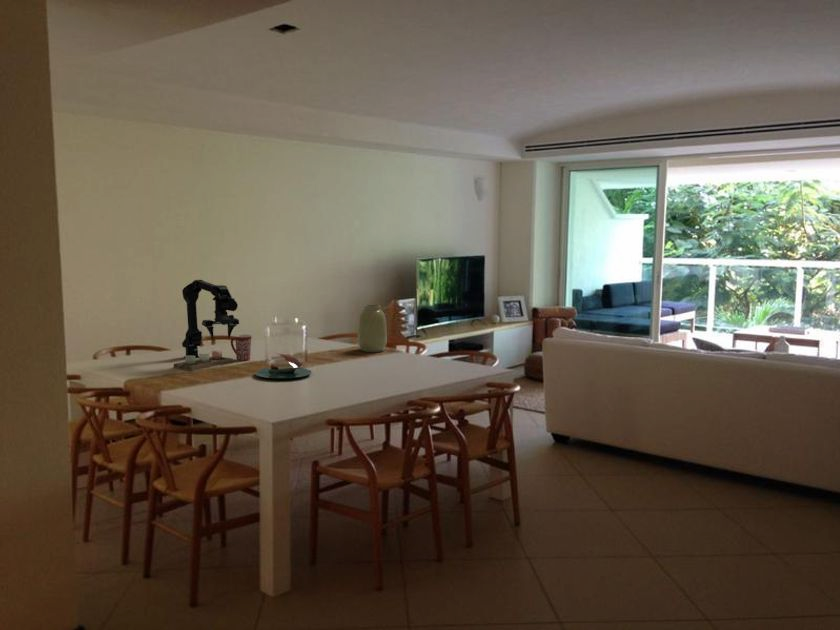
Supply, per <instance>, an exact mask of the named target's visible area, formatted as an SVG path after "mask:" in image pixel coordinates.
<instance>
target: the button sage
mask: <svg viewBox="0 0 840 630" xmlns="http://www.w3.org/2000/svg"><path fill="white" fill-rule="evenodd" d="M196 359H197V358H195V356H194V355H189V356H186V355H185V361H184V362H186V364H187V365H193V364H196Z"/></svg>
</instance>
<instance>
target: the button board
mask: <svg viewBox="0 0 840 630" xmlns="http://www.w3.org/2000/svg"><path fill="white" fill-rule="evenodd" d="M195 359H196V364H193V365H187V364H186V362H185V361H181V362H176V363H173V369H181V370H186V371H197V370H203V369H207V368H212V367H219V366H223V365H228V364H232V363H234V358H231V357H224V356H222V359H218V360H214V359H212V356H209V361H208V362H199V358H195Z"/></svg>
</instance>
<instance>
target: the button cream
mask: <svg viewBox="0 0 840 630" xmlns="http://www.w3.org/2000/svg"><path fill="white" fill-rule="evenodd" d="M198 356H199V357H198V359H199V362H208V361H209V357H210V353H209V352H202V353H198Z"/></svg>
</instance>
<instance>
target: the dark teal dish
mask: <svg viewBox="0 0 840 630" xmlns="http://www.w3.org/2000/svg"><path fill="white" fill-rule="evenodd" d="M278 355H279V356H280V357H282V358H284V359H285V361H287V362H288V364H290V365H291V367H289V366H287V367H286V366H285V367H284V366H278V365H273V364H270V367H266V368H261V369H259V370H257V371H256V370H255V372H254V376H255V375H256V376H257V377H262V378H268V379H293V378H300V377H305V376H309V375H310V374H312V370H310V369H308V368H305V366H304V364H303V362H301V361H299V360H298V359H297V358H296V357H294V356H290V355H288V354H285V353H284V354H283V353H278Z"/></svg>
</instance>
